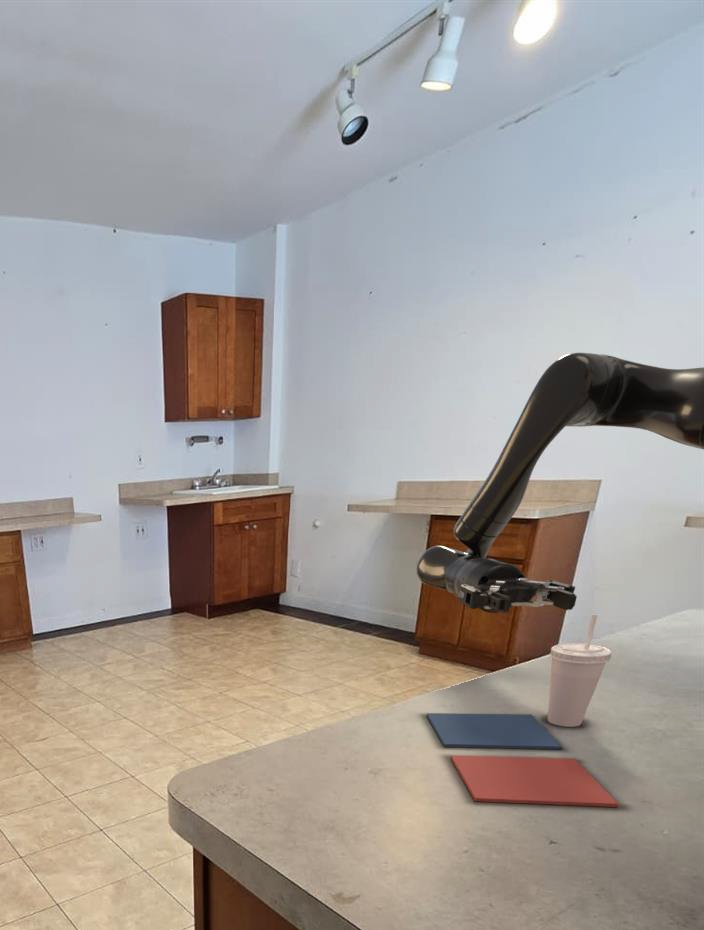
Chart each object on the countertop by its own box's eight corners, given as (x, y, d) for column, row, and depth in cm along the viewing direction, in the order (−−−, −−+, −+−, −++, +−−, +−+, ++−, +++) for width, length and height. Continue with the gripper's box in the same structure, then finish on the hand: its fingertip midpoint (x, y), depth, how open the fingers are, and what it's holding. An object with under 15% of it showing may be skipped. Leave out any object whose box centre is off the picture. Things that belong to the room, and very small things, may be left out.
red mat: (573, 761, 73) (574, 758, 73) (617, 807, 63) (618, 803, 63) (450, 758, 76) (451, 755, 76) (474, 801, 66) (475, 798, 66)
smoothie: (599, 732, 80) (629, 620, 74) (540, 728, 82) (564, 620, 76) (586, 714, 85) (612, 609, 79) (531, 711, 87) (553, 609, 82)
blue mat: (530, 717, 86) (531, 714, 86) (561, 749, 76) (562, 746, 76) (426, 715, 89) (427, 713, 88) (444, 746, 79) (444, 743, 79)
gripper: (445, 562, 102) (491, 579, 87) (538, 557, 101) (600, 573, 86) (438, 609, 105) (481, 633, 90) (528, 605, 104) (587, 628, 89)
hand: (539, 604), depth 88 cm, fingers open, 8 cm apart
